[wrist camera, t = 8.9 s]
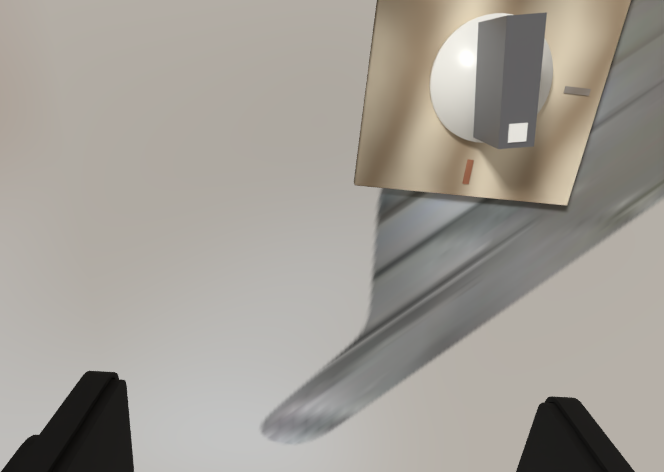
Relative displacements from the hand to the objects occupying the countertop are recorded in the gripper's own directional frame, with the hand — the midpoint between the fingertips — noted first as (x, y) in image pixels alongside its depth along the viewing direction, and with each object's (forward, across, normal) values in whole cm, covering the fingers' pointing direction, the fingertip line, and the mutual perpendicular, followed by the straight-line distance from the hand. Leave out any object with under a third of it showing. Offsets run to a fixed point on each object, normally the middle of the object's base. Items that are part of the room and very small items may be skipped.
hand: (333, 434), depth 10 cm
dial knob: (+27, -12, -8) cm, 31 cm away
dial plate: (+28, -12, -8) cm, 32 cm away
